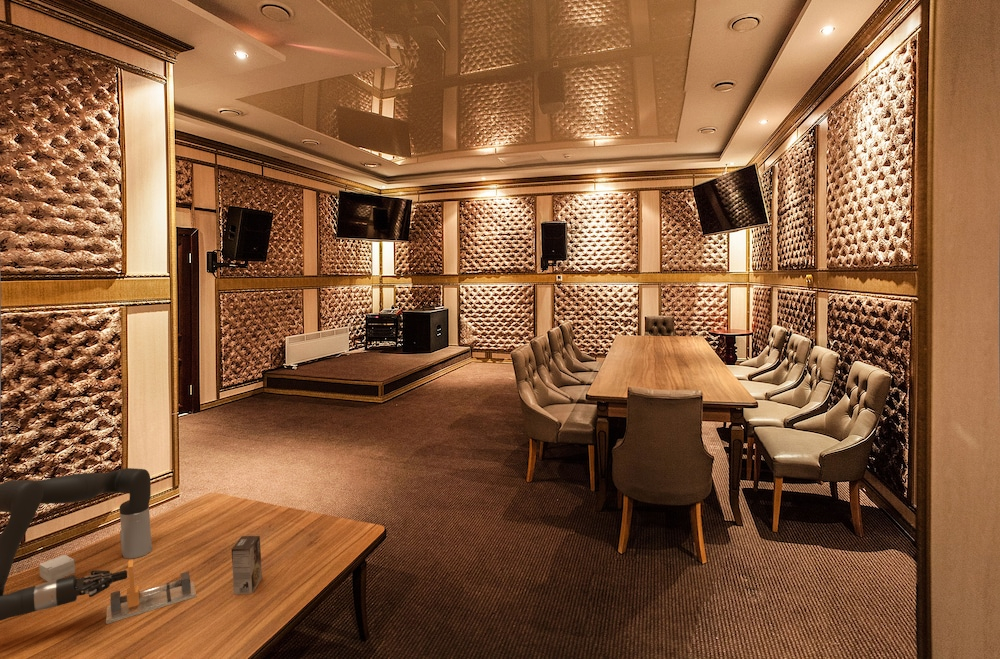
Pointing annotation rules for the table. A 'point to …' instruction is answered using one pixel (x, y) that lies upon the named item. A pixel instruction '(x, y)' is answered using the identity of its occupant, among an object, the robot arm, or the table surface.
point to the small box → (57, 568)
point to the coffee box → (246, 564)
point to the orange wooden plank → (132, 587)
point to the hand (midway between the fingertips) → (126, 574)
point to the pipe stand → (151, 599)
